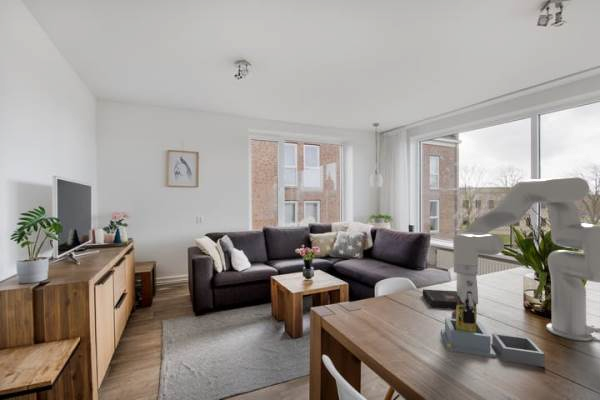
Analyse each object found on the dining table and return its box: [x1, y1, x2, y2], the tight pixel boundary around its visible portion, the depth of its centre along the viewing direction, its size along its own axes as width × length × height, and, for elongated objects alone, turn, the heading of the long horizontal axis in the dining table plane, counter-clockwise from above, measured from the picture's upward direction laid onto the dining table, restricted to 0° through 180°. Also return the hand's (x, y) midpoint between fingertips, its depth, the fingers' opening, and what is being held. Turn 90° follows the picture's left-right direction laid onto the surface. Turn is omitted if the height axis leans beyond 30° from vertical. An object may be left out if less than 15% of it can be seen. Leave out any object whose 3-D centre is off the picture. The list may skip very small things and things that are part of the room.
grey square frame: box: [491, 332, 546, 368], centre depth 91 cm, size 11×11×4 cm
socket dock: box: [440, 317, 497, 358], centre depth 98 cm, size 14×14×6 cm
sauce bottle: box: [455, 282, 478, 333], centre depth 98 cm, size 6×6×20 cm
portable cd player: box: [422, 288, 458, 310], centre depth 138 cm, size 16×17×4 cm
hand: (466, 318), depth 98 cm, fingers closed on sauce bottle, 6 cm apart
